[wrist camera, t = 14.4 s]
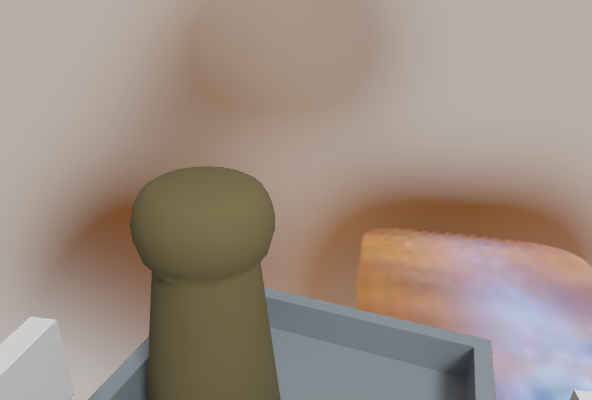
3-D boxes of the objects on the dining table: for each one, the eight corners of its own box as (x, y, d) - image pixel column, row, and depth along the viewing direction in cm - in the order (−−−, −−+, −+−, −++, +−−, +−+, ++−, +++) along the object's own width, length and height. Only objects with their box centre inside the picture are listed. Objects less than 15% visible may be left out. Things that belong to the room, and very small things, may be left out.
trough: (82, 462, 18) (71, 416, 17) (211, 310, 27) (208, 274, 26) (492, 630, 14) (510, 582, 13) (480, 380, 23) (491, 340, 22)
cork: (124, 391, 21) (87, 169, 16) (235, 337, 24) (230, 142, 20) (184, 495, 16) (156, 235, 12) (307, 411, 20) (322, 186, 15)
